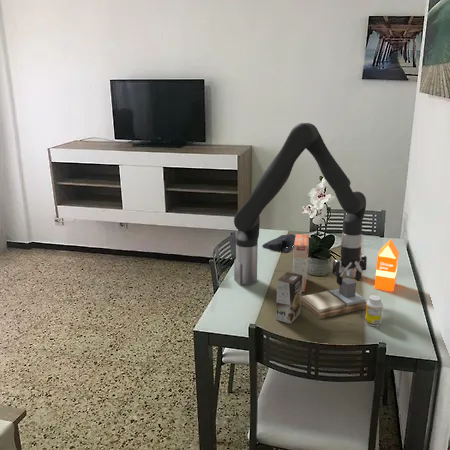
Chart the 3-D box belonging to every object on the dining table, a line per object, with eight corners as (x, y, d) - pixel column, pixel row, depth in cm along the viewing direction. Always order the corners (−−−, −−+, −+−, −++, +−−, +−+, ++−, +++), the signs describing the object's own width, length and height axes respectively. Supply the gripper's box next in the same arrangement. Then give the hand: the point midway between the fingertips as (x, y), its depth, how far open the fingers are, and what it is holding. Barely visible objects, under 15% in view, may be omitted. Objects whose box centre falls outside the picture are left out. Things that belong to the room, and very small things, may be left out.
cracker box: (305, 292, 196) (308, 245, 189) (291, 291, 197) (293, 244, 190) (307, 278, 209) (309, 234, 202) (293, 277, 210) (295, 233, 203)
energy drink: (359, 273, 213) (361, 249, 210) (358, 278, 209) (360, 253, 205) (347, 272, 215) (349, 247, 211) (346, 277, 210) (348, 252, 206)
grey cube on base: (346, 305, 181) (348, 289, 179) (328, 292, 192) (329, 276, 190) (365, 301, 185) (366, 285, 182) (346, 288, 195) (347, 273, 193)
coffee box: (291, 324, 172) (292, 284, 167) (275, 319, 175) (276, 280, 170) (301, 313, 179) (303, 274, 174) (285, 309, 182) (287, 271, 177)
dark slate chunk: (305, 242, 254) (305, 233, 253) (285, 254, 237) (286, 245, 236) (280, 236, 263) (280, 228, 261) (259, 248, 246) (259, 239, 244)
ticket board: (320, 318, 175) (320, 312, 175) (297, 300, 189) (298, 294, 189) (368, 307, 183) (368, 301, 183) (343, 290, 197) (343, 284, 197)
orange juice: (395, 283, 204) (400, 239, 198) (393, 291, 196) (398, 246, 190) (376, 280, 207) (381, 237, 201) (373, 288, 199) (378, 243, 193)
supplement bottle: (368, 317, 176) (371, 292, 173) (383, 322, 173) (385, 297, 170) (362, 323, 172) (364, 298, 169) (376, 328, 169) (379, 302, 165)
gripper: (360, 238, 187) (357, 275, 192) (329, 243, 182) (327, 282, 187) (372, 244, 181) (369, 282, 186) (341, 249, 175) (339, 289, 180)
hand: (348, 282), depth 186 cm, fingers open, 8 cm apart
